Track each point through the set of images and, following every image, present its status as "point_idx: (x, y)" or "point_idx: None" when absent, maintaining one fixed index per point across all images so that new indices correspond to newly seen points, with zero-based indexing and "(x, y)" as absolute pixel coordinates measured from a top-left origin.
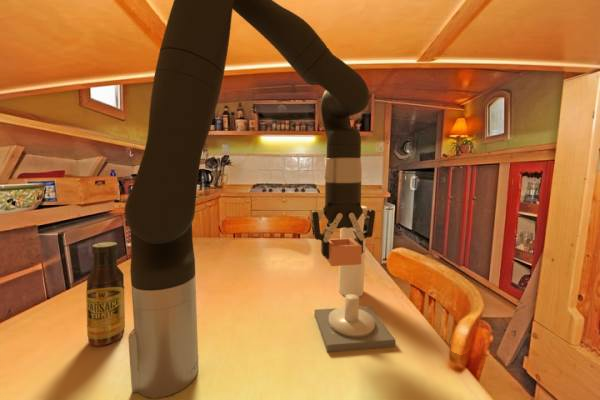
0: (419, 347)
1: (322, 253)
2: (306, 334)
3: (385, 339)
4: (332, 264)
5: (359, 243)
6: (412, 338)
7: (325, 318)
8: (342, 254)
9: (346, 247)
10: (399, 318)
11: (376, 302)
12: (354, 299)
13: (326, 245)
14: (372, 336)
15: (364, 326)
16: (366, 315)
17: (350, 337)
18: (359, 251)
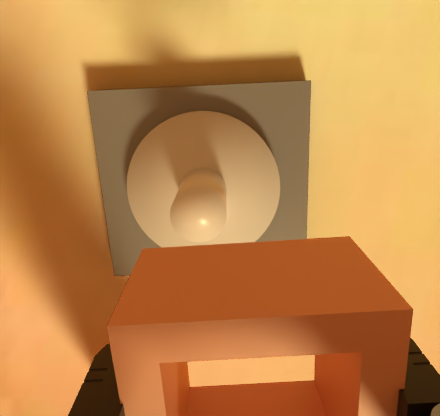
0: (22, 81)
1: (412, 346)
2: (347, 167)
3: (119, 93)
4: (346, 241)
5: (108, 398)
6: (28, 125)
7: (281, 217)
8: (287, 278)
9: (261, 311)
10: (33, 226)
11: (80, 317)
12: (193, 198)
13: (424, 381)
14: (155, 112)
15: (171, 144)
16: (146, 206)
17: (227, 112)
18: (139, 293)
